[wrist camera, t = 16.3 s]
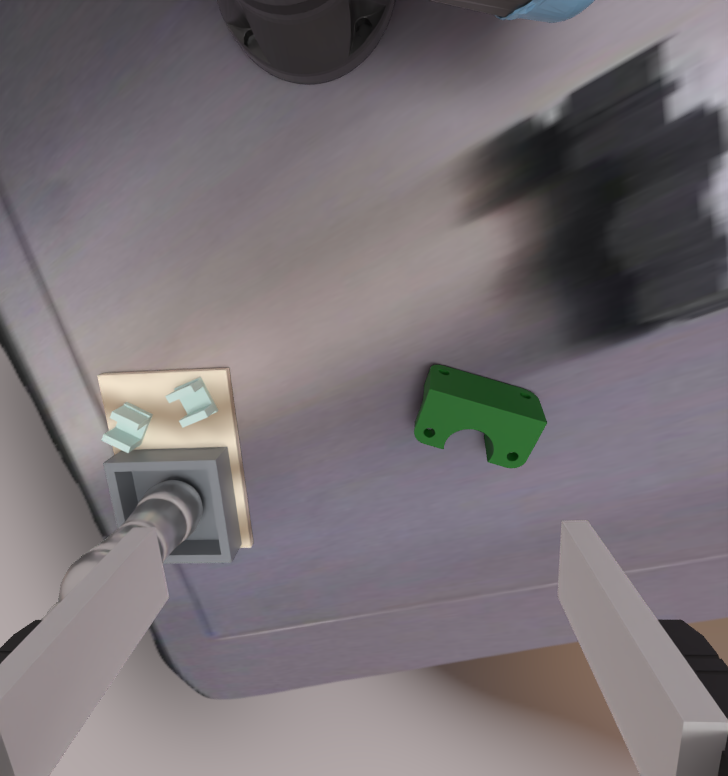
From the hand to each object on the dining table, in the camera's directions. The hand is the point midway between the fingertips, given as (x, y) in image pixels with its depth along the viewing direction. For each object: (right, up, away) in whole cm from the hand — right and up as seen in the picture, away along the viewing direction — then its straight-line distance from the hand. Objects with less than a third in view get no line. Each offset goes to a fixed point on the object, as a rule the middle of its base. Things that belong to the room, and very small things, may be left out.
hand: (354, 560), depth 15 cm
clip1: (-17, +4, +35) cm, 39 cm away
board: (-20, -3, +38) cm, 43 cm away
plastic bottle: (-20, -7, +38) cm, 44 cm away
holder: (-20, -7, +38) cm, 44 cm away
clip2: (-25, +2, +36) cm, 44 cm away
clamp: (+11, +4, +35) cm, 37 cm away
